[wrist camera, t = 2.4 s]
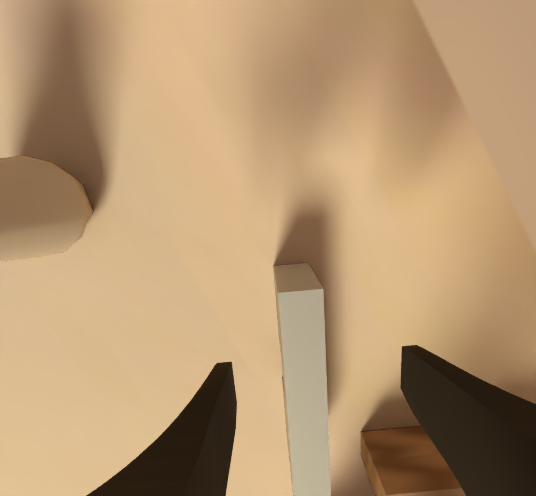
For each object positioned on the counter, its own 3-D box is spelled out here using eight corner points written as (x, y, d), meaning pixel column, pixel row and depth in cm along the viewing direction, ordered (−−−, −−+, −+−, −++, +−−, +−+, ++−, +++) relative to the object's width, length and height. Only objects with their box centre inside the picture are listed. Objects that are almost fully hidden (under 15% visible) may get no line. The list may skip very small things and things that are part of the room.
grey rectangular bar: (316, 433, 24) (331, 497, 19) (286, 436, 24) (294, 501, 19) (308, 262, 21) (323, 288, 16) (273, 265, 21) (278, 292, 16)
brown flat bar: (361, 455, 25) (385, 522, 20) (360, 431, 24) (386, 495, 19) (520, 440, 25) (583, 503, 20) (524, 416, 24) (590, 475, 20)
